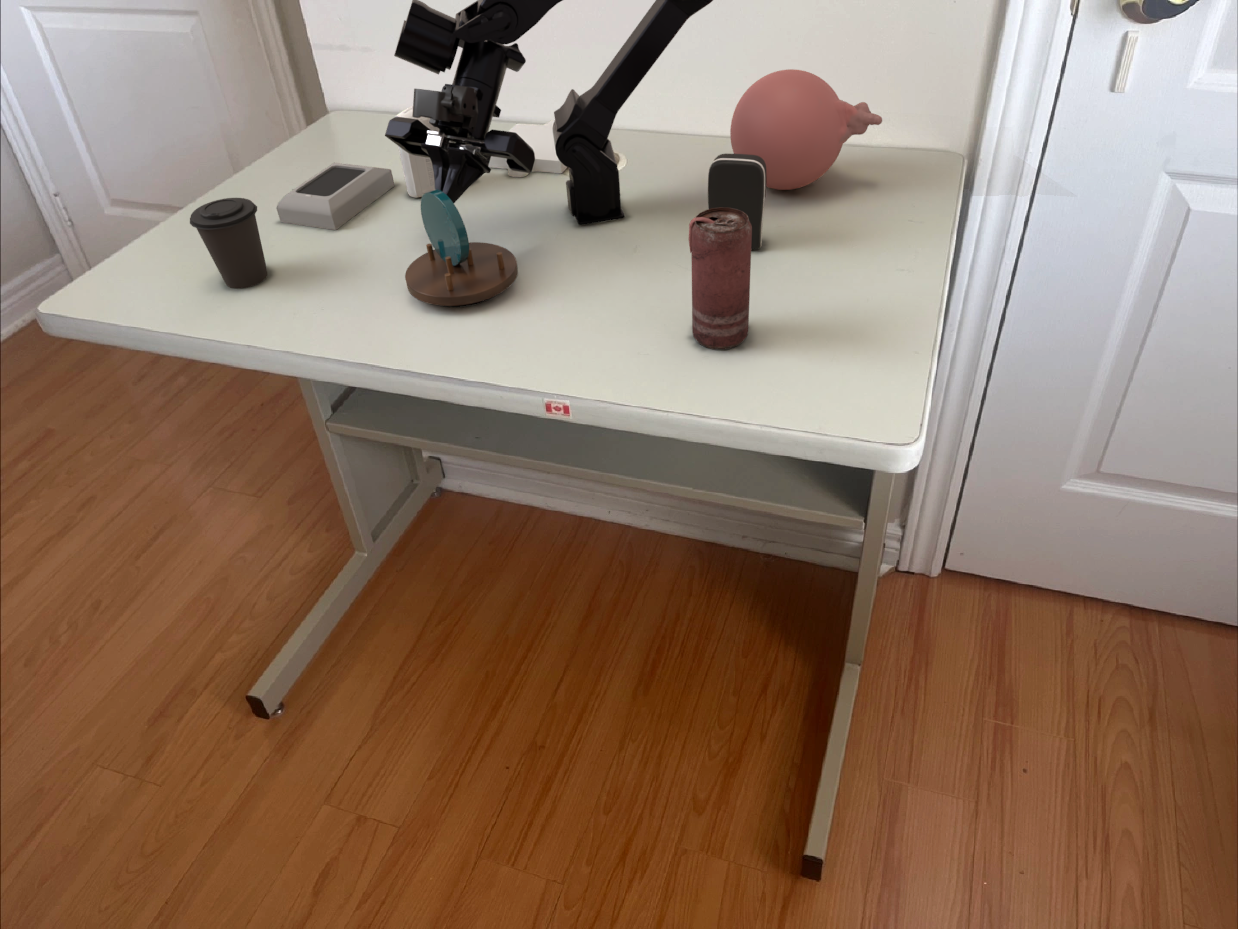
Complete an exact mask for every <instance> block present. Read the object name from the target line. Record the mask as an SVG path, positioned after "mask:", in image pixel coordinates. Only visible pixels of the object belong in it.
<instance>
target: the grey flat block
mask: <svg viewBox="0 0 1238 929" xmlns="http://www.w3.org/2000/svg"><path fill="white" fill-rule="evenodd" d="M395 185H396V184H395V180H394V176H393V171H392V169H391V168H386V167H385V168H384V167H376V166H367V165H361V164H360V165H359V164H350V163H343V162H332V163H331V164H329V165H328V166H327V167H325V168H323V169H322V170H321V171H319V172H317V173H316V174H314V175H313V176H312V177H310V178H308V179H307V180H305V181H304V182H302V183H301V184H299V185H298V186H296V187H294V189H292V190H290V191H289V192H287V193H285V195H284V196H283V197H282V198H281V199H279V201H278V202H277V204H276V207H275V209H276V211H277V215H278V218H279V221H280V223H284V224H291V225H298V226H299V225H300V226H305V227H313V228H320V229H326V230H333V231H337V230H338V229H339V228H341V227H342V226H343V225H345V224H346V223H347V222H349V221H350V220H351V219H353V218H354V217H355V216H357V215H358V214H359V213H361V212H362V211H364V210H365V209H366V208H368V207H369V206H370V205H371V204H373V203H374V202H375V201H376V200H378V199H379V198H381V197H382V196H384V195H385V194H386V193H387V192H389V191H390V190H391V189H392V188H394V187H395Z"/></svg>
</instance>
